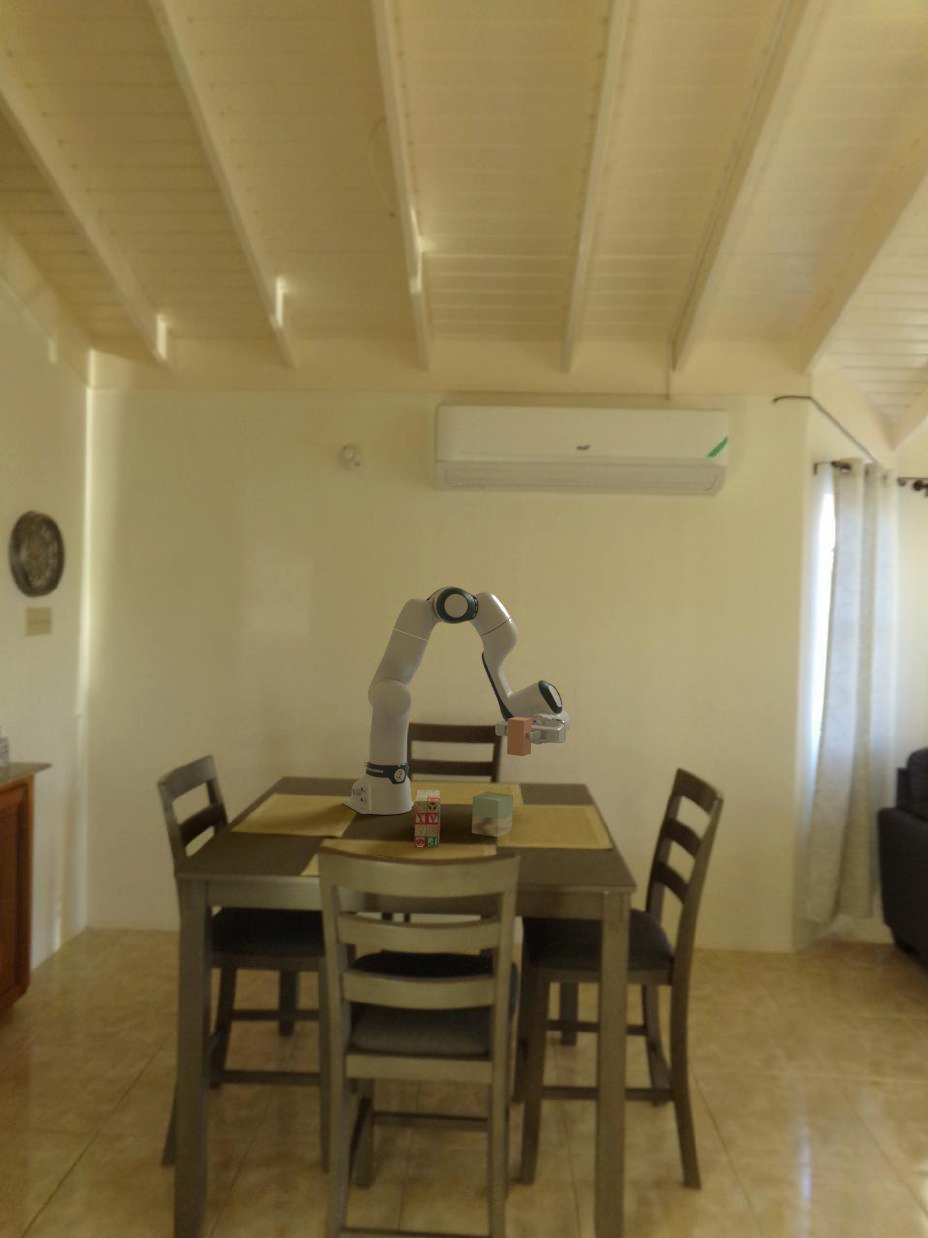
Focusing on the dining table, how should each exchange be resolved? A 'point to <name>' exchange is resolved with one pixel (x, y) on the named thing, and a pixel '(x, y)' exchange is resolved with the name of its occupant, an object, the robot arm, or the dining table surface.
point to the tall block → (519, 736)
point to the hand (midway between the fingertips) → (518, 734)
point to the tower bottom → (491, 825)
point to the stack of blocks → (427, 818)
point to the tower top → (492, 805)
